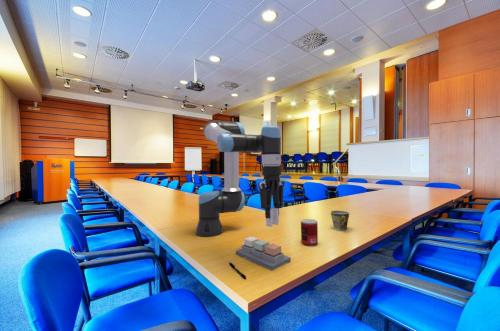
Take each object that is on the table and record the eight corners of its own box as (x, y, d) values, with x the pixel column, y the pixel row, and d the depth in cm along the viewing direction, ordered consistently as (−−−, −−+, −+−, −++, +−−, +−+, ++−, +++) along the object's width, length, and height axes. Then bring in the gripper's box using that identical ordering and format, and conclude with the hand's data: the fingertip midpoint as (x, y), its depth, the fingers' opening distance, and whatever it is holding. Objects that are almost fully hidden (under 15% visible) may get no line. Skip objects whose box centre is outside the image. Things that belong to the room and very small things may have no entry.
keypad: (235, 254, 94) (235, 245, 94) (253, 247, 101) (253, 239, 101) (272, 270, 78) (271, 260, 78) (290, 261, 86) (290, 252, 86)
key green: (254, 248, 90) (253, 242, 90) (261, 245, 93) (261, 239, 93) (261, 251, 86) (261, 245, 86) (269, 248, 89) (269, 242, 90)
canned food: (319, 242, 106) (319, 220, 106) (314, 247, 99) (314, 223, 100) (304, 239, 110) (304, 218, 110) (298, 244, 104) (298, 221, 104)
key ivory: (244, 244, 94) (244, 238, 94) (251, 241, 97) (251, 236, 97) (251, 247, 91) (251, 241, 91) (258, 244, 94) (258, 238, 94)
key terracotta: (264, 252, 85) (264, 246, 85) (272, 249, 88) (272, 243, 88) (273, 255, 82) (273, 249, 82) (281, 252, 85) (281, 246, 85)
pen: (248, 280, 73) (248, 277, 73) (243, 280, 72) (244, 277, 72) (231, 264, 85) (232, 261, 85) (227, 264, 84) (228, 261, 84)
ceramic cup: (328, 226, 133) (328, 210, 133) (345, 226, 132) (345, 210, 132) (336, 233, 120) (336, 215, 120) (354, 233, 119) (354, 215, 119)
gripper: (264, 165, 77) (265, 231, 77) (291, 165, 88) (292, 223, 88) (250, 166, 83) (251, 227, 82) (277, 165, 93) (278, 220, 93)
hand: (272, 225), depth 85 cm, fingers open, 3 cm apart
